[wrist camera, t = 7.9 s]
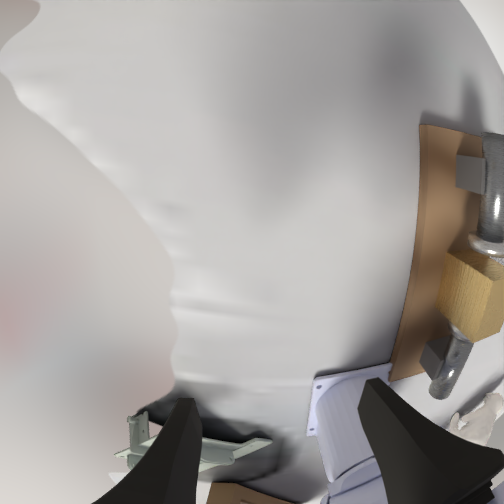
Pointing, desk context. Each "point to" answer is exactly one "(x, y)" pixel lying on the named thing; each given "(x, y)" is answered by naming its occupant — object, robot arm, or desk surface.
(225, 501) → the photo frame
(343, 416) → the robot arm
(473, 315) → the block
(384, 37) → the desk surface
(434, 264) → the stand
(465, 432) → the white sculpted piece
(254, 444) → the metal bracket
